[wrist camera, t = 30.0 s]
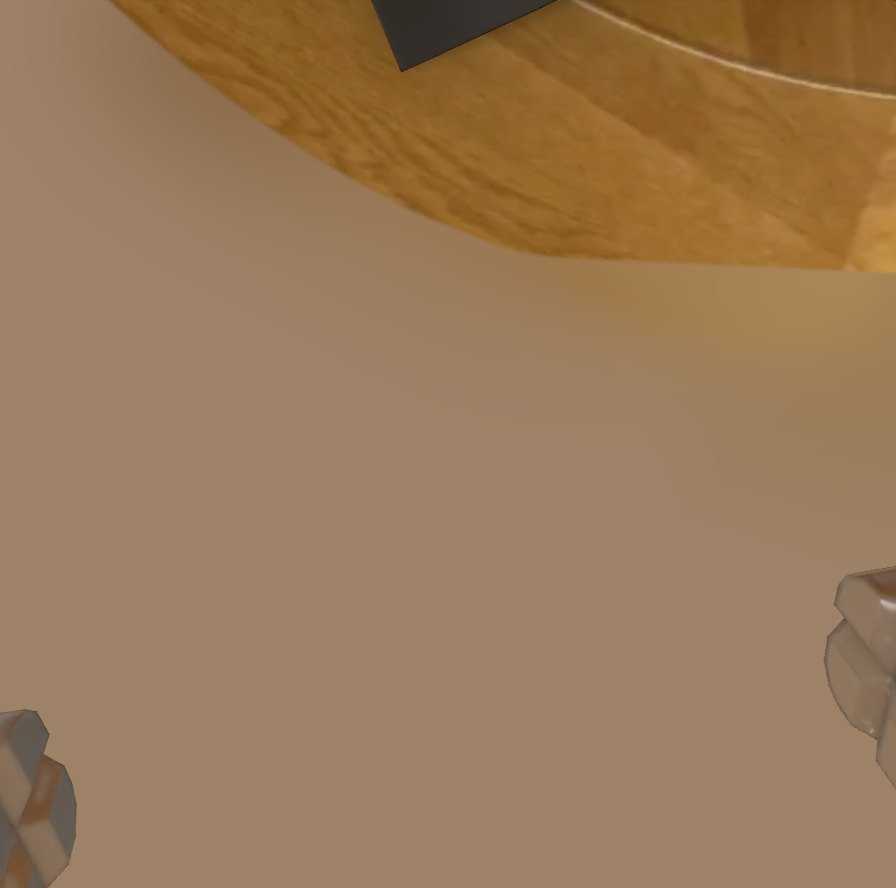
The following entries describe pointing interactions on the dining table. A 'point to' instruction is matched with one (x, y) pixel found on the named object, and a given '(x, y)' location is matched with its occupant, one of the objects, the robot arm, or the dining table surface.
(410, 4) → the black dial panel
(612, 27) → the dining table surface
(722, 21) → the dining table surface
